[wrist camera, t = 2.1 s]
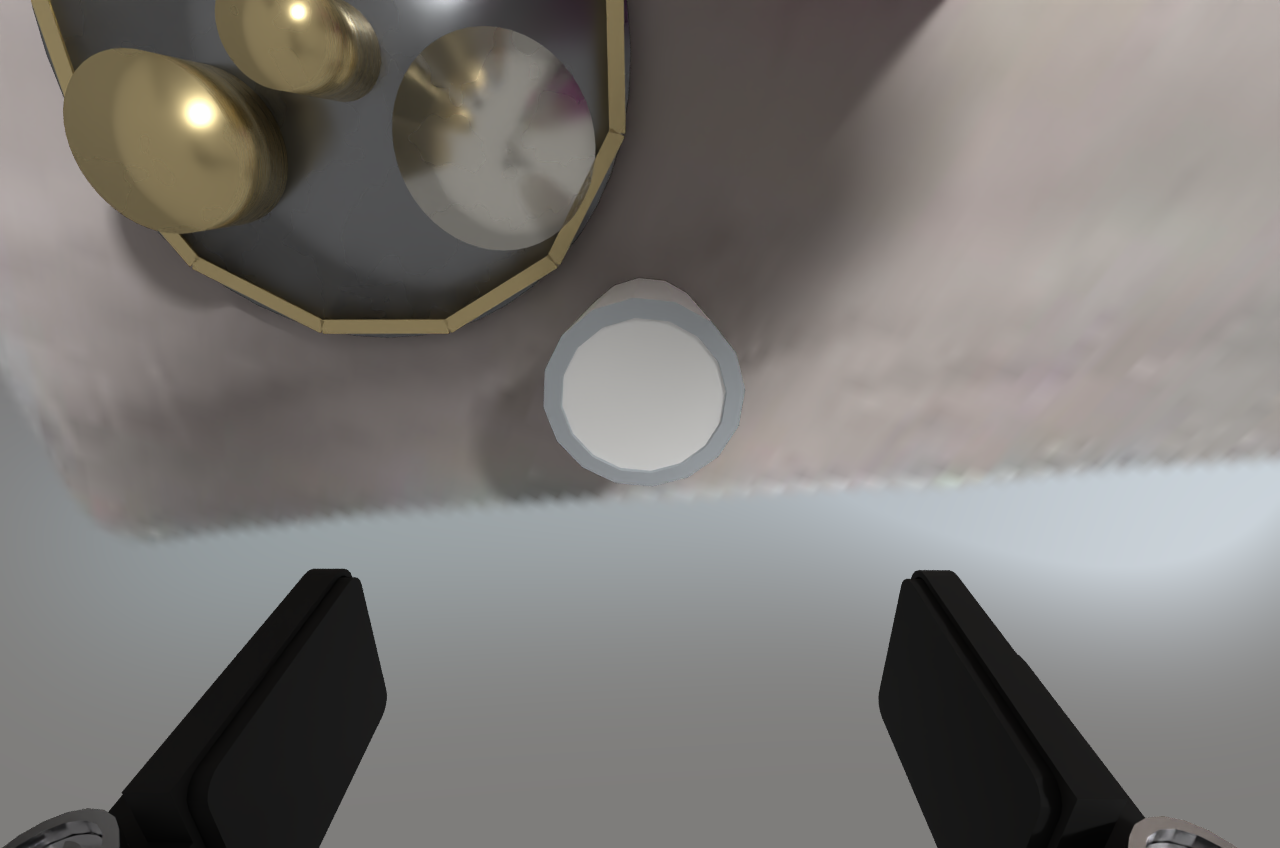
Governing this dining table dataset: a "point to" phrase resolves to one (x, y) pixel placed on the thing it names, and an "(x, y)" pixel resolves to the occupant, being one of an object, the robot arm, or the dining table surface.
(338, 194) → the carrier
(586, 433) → the shot glass
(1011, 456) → the dining table surface
